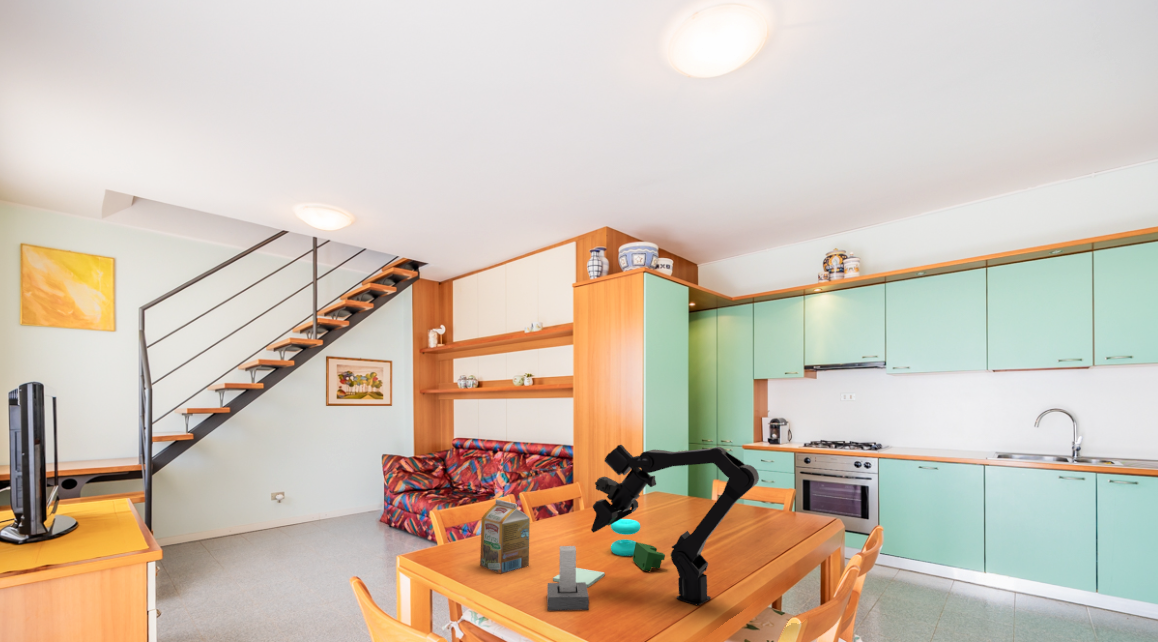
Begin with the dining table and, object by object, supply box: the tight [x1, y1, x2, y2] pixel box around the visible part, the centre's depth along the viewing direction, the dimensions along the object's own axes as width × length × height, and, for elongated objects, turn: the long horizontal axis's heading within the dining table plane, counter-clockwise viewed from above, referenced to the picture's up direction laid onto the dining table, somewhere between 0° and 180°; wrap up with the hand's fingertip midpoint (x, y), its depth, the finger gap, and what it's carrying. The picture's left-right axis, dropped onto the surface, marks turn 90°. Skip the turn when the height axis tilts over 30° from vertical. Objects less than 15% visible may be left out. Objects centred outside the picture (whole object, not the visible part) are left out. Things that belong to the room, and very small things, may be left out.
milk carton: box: [479, 499, 531, 575], centre depth 162 cm, size 11×11×19 cm
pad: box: [552, 567, 606, 589], centre depth 150 cm, size 11×11×1 cm
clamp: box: [632, 541, 666, 572], centre depth 162 cm, size 12×6×9 cm, turn 7°
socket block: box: [546, 582, 590, 612], centre depth 133 cm, size 10×10×3 cm
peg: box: [558, 545, 577, 593], centre depth 133 cm, size 4×4×13 cm
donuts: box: [610, 518, 641, 557], centre depth 176 cm, size 10×10×10 cm
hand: (600, 527), depth 150 cm, fingers open, 9 cm apart
